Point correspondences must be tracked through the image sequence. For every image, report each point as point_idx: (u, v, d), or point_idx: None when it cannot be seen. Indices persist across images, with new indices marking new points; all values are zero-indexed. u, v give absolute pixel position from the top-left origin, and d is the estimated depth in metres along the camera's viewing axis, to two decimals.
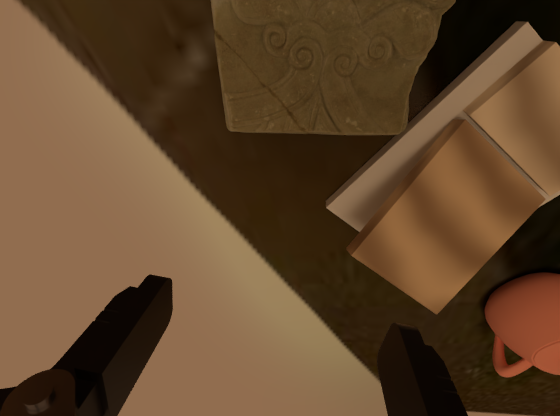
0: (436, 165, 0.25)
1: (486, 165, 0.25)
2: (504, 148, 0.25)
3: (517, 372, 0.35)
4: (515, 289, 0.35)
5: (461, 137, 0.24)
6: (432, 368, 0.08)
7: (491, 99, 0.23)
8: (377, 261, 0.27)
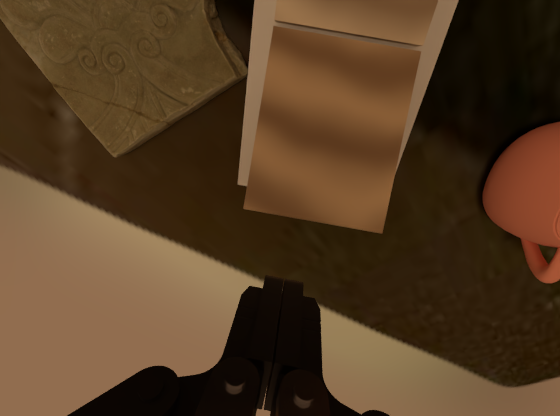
0: (273, 81, 0.23)
1: (326, 54, 0.23)
2: (332, 28, 0.23)
3: None
4: (495, 171, 0.28)
5: (281, 43, 0.23)
6: (300, 311, 0.09)
7: None
8: (274, 203, 0.24)
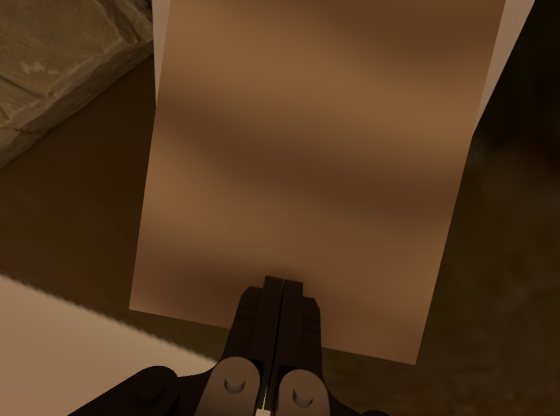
0: (183, 43, 0.11)
1: None
2: None
3: None
4: None
5: None
6: (300, 311, 0.09)
7: None
8: (192, 299, 0.12)
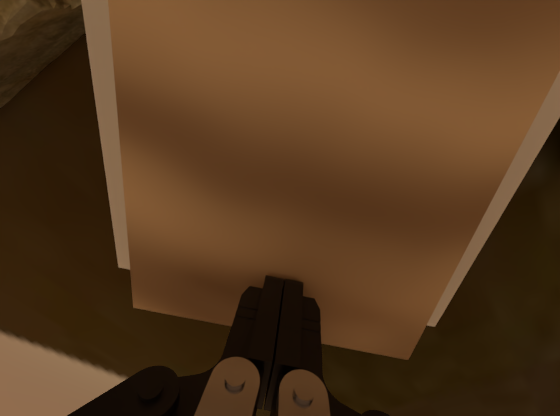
0: (135, 18, 0.08)
1: None
2: None
3: None
4: None
5: None
6: (300, 311, 0.09)
7: None
8: (192, 302, 0.12)
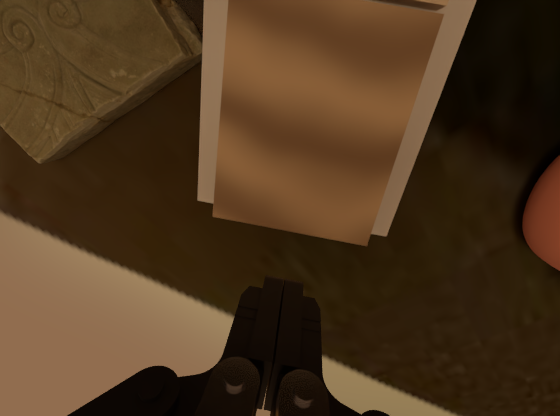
0: (235, 64, 0.18)
1: (305, 22, 0.16)
2: None
3: None
4: (543, 188, 0.20)
5: (242, 6, 0.16)
6: (300, 311, 0.09)
7: None
8: (246, 212, 0.22)
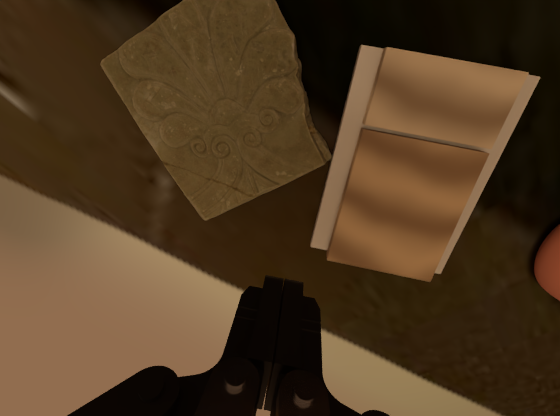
0: (358, 172, 0.29)
1: (405, 153, 0.28)
2: (414, 133, 0.27)
3: None
4: (548, 247, 0.31)
5: (368, 143, 0.28)
6: (300, 311, 0.09)
7: (372, 106, 0.27)
8: (350, 258, 0.33)
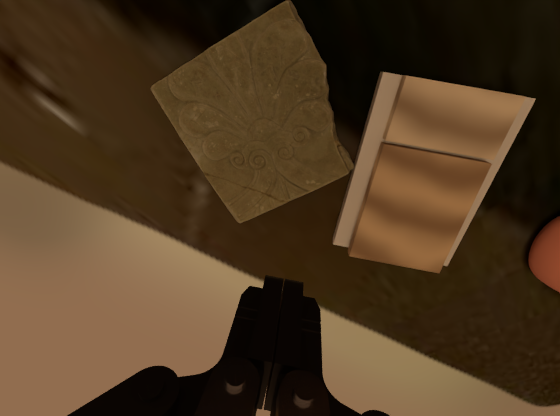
0: (379, 181, 0.33)
1: (420, 164, 0.32)
2: (427, 147, 0.31)
3: None
4: (541, 241, 0.36)
5: (388, 156, 0.32)
6: (300, 311, 0.09)
7: (392, 124, 0.31)
8: (370, 254, 0.37)
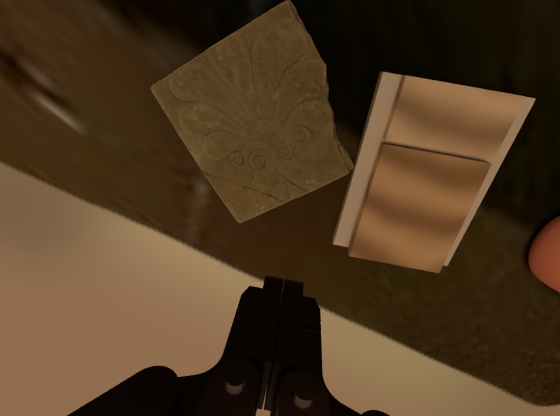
0: (379, 181, 0.33)
1: (420, 164, 0.32)
2: (427, 147, 0.31)
3: None
4: (540, 241, 0.36)
5: (388, 156, 0.32)
6: (300, 311, 0.09)
7: (392, 124, 0.31)
8: (370, 253, 0.37)
